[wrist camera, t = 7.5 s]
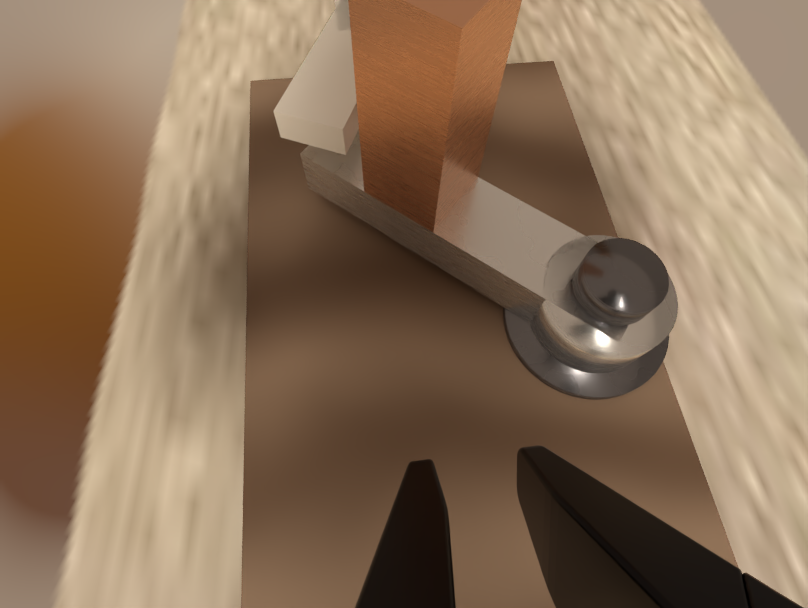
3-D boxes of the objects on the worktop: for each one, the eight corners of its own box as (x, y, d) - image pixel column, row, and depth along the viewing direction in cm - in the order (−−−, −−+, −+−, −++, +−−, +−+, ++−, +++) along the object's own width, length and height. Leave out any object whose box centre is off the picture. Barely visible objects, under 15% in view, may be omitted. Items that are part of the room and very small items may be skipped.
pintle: (687, 389, 17) (760, 355, 14) (522, 409, 17) (556, 379, 13) (633, 245, 19) (683, 187, 16) (488, 259, 19) (509, 202, 16)
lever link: (617, 398, 16) (871, 254, 8) (297, 198, 19) (222, -61, 11) (666, 303, 18) (922, 94, 9) (362, 133, 21) (342, -140, 12)
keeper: (427, 204, 20) (436, 122, 16) (297, 215, 20) (273, 134, 16) (404, 72, 23) (406, -23, 19) (293, 80, 23) (271, -16, 19)
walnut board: (732, 616, 15) (759, 624, 14) (251, 692, 14) (239, 706, 13) (546, 81, 25) (553, 60, 24) (256, 101, 24) (250, 80, 23)
